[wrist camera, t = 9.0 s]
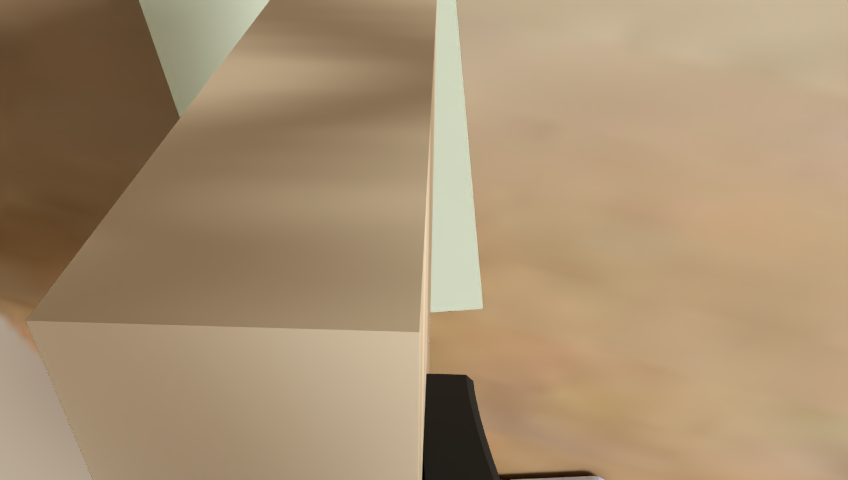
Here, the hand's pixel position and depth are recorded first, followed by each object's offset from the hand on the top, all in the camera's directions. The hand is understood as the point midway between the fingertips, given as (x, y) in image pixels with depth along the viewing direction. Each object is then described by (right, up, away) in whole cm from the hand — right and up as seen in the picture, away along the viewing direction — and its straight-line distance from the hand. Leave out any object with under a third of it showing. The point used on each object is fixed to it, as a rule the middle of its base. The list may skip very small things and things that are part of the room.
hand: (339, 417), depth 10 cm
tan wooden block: (0, +3, +3) cm, 4 cm away
